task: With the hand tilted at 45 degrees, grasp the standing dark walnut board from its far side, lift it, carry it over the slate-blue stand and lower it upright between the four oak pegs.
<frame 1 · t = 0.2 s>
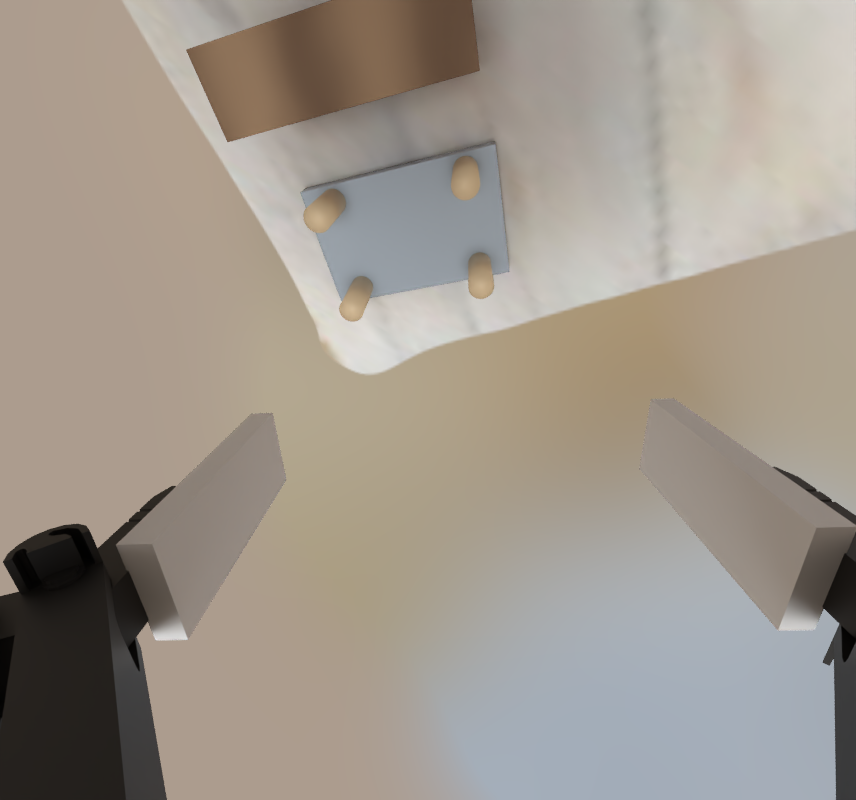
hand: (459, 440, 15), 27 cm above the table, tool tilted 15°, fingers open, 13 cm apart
board: (373, 62, 30), on the table
cradle: (410, 228, 37), on the table
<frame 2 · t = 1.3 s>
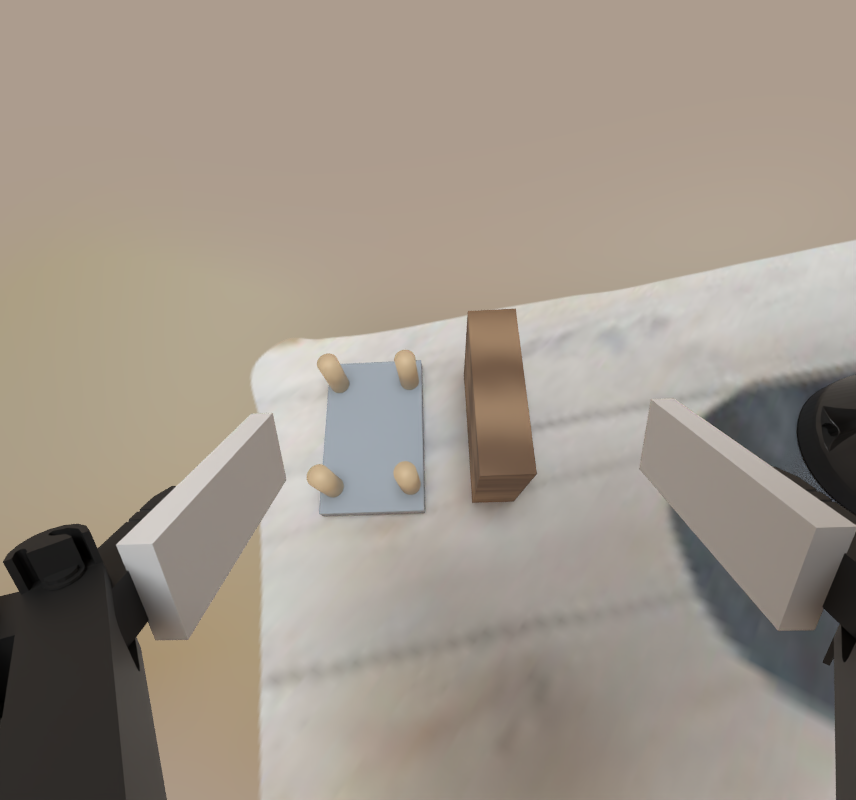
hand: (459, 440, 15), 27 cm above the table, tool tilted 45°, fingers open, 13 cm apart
board: (487, 433, 43), on the table
cradle: (376, 436, 43), on the table
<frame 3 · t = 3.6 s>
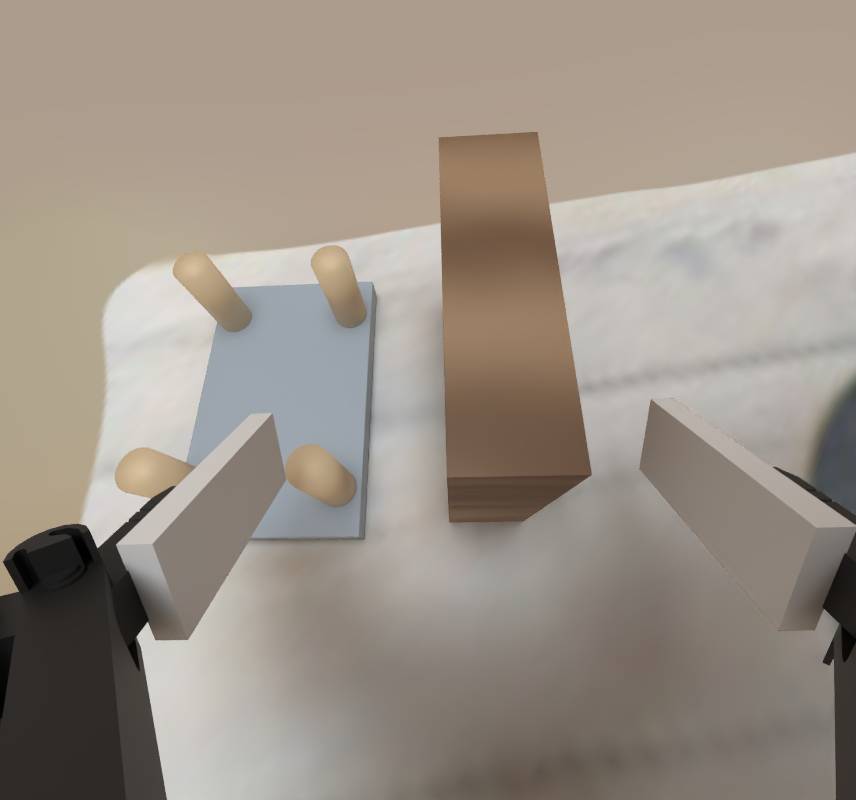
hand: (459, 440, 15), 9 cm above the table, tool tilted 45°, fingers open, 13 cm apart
board: (479, 403, 25), on the table
cradle: (291, 404, 26), on the table
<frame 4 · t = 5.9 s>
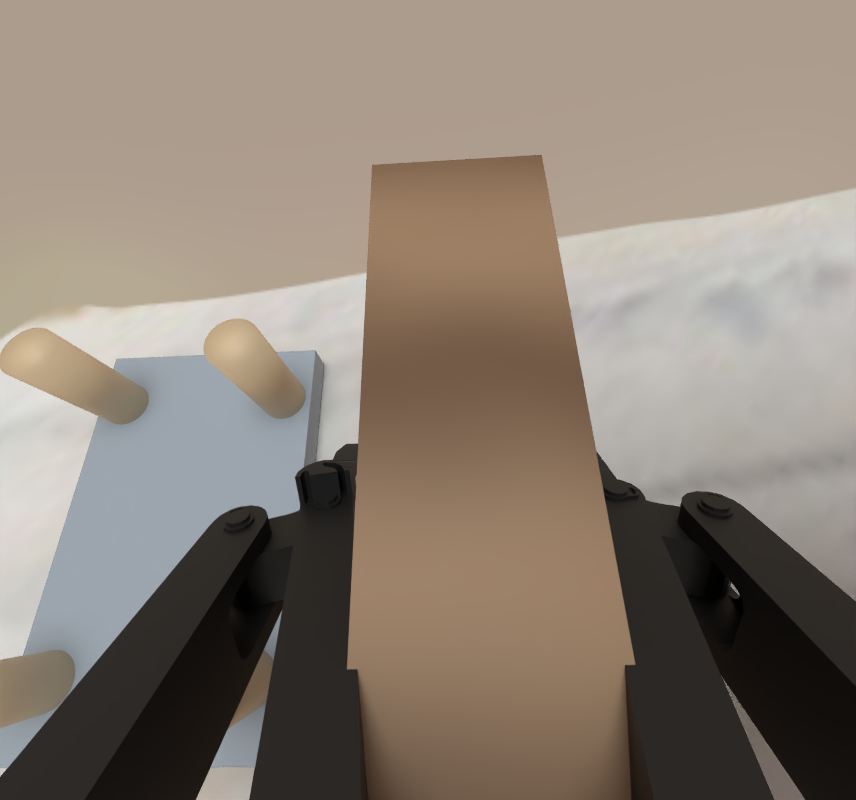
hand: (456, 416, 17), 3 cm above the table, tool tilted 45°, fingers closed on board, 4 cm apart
board: (459, 524, 18), on the table, touching gripper
cradle: (199, 527, 19), on the table
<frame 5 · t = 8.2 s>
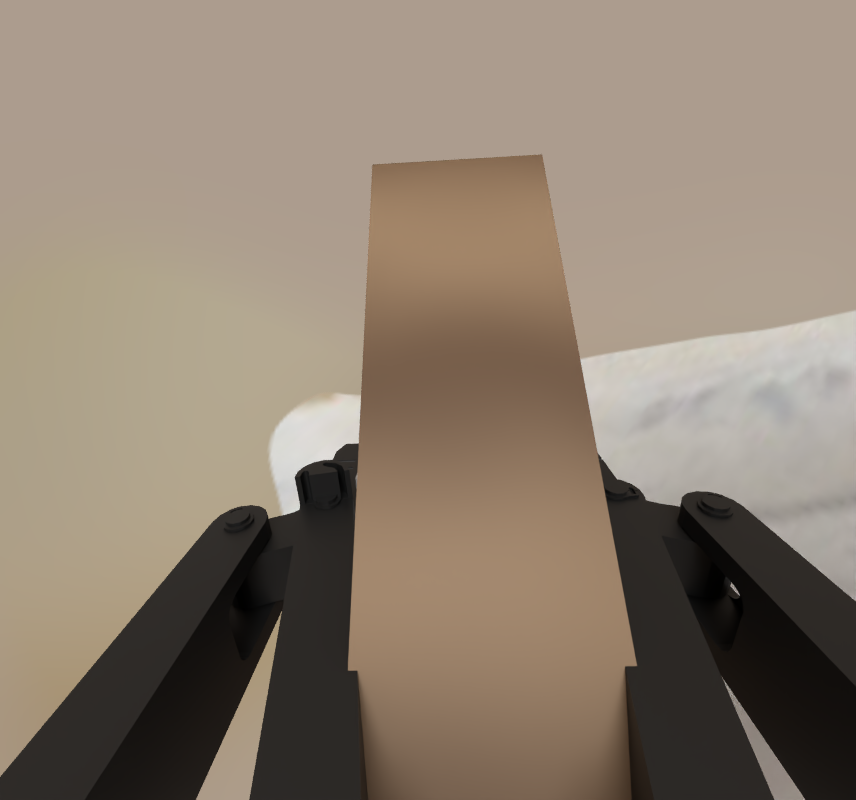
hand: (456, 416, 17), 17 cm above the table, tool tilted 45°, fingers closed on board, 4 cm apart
board: (460, 524, 18), point 13 cm above the table, touching gripper
when the fingers open (6 cm above the table, at t = 10.4 s): board drops 1 cm, resting on cradle.
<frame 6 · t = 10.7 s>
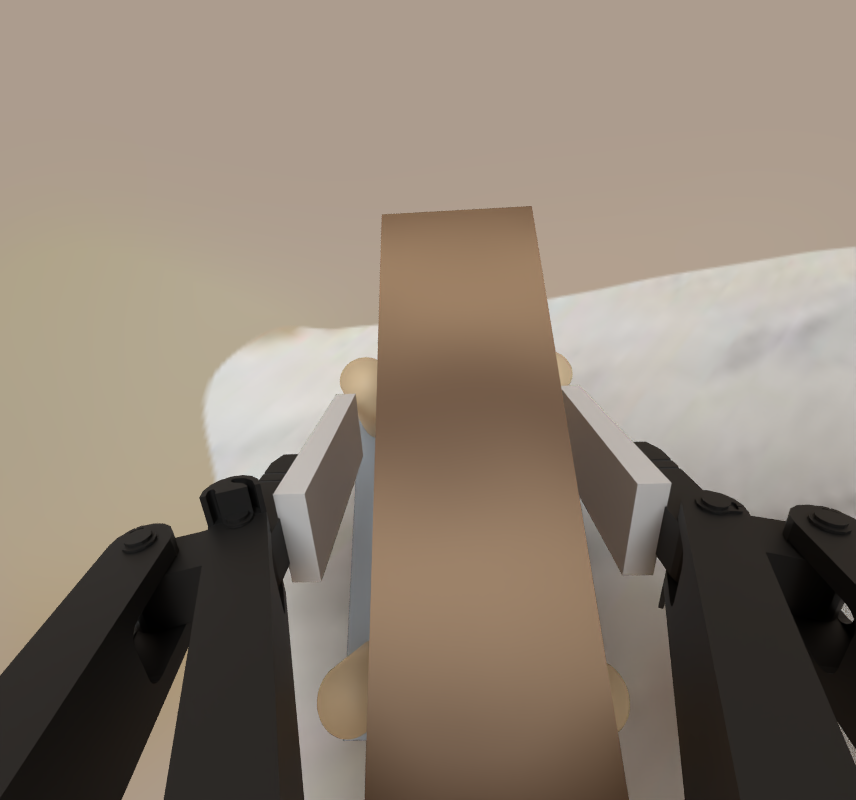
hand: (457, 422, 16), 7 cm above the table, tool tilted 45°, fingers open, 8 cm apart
board: (460, 529, 19), point 1 cm above the table, touching cradle
cradle: (458, 530, 21), on the table
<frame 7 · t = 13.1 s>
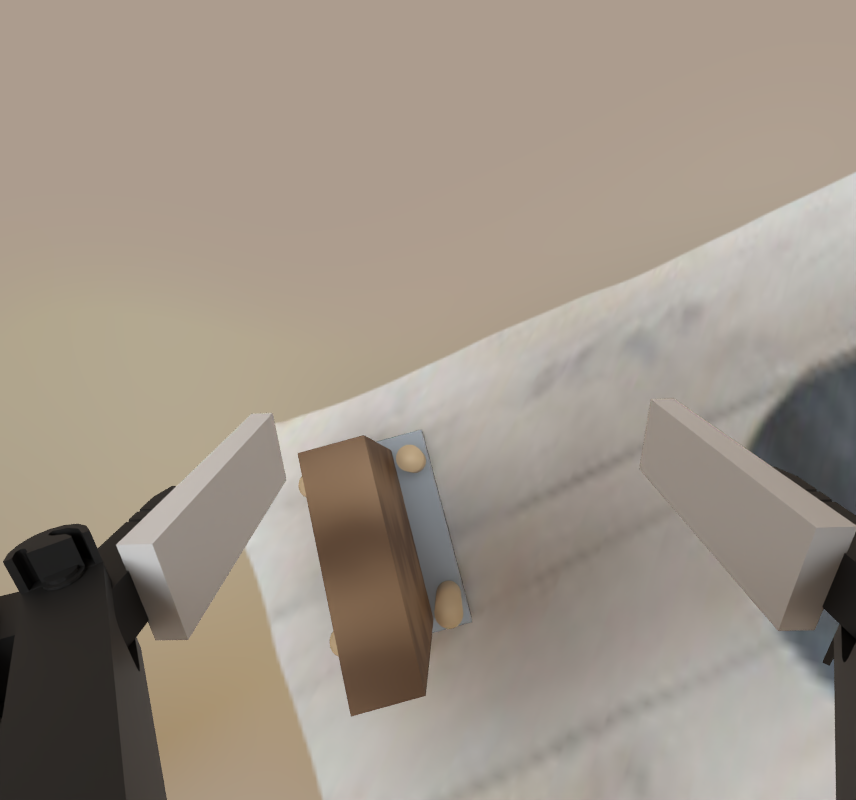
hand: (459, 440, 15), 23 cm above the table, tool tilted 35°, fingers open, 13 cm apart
board: (388, 537, 34), point 1 cm above the table, touching cradle
cradle: (390, 534, 36), on the table
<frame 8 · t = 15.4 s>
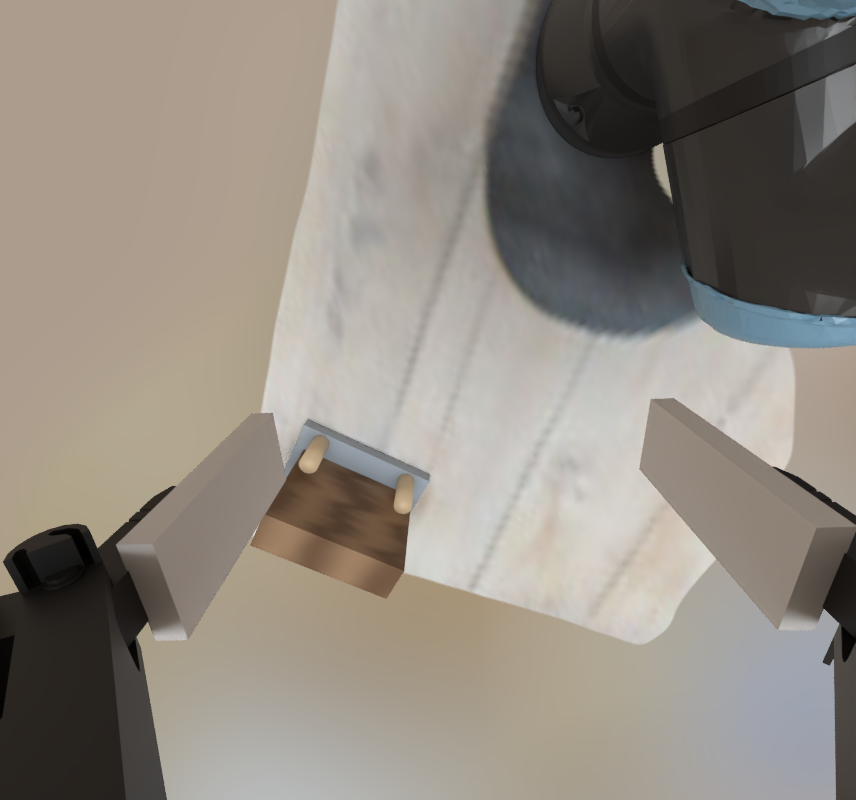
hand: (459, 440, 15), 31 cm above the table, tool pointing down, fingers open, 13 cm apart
board: (352, 485, 50), point 1 cm above the table, touching cradle
cradle: (353, 479, 51), on the table
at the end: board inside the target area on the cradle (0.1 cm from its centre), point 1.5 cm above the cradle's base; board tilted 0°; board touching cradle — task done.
